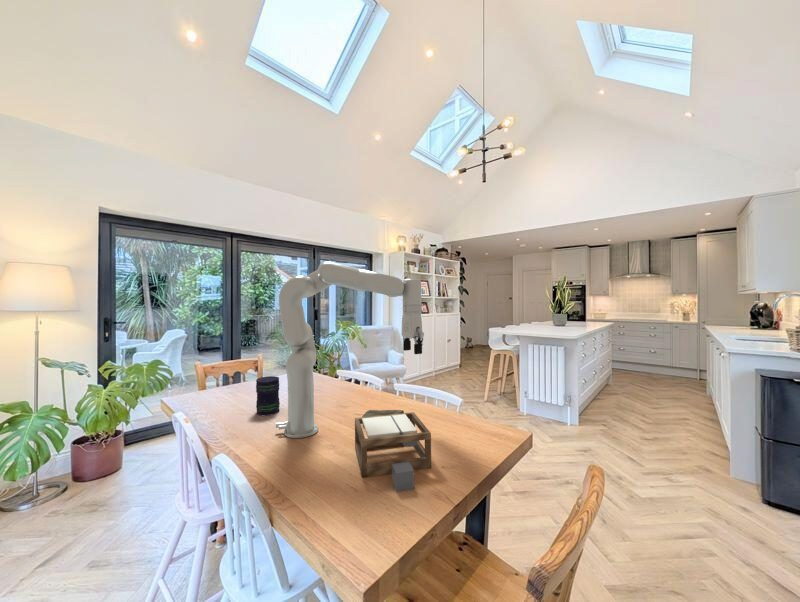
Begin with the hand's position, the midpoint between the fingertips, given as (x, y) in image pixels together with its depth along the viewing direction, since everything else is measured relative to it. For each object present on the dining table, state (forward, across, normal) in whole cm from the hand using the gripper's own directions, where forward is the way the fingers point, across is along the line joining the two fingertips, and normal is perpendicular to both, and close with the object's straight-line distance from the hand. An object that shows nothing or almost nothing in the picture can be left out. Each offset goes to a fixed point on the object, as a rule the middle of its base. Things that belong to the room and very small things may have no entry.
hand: (412, 352), depth 128 cm
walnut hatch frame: (+30, +20, -18) cm, 40 cm away
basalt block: (+30, +35, -21) cm, 51 cm away
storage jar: (+30, -43, -52) cm, 74 cm away
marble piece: (+30, -7, -10) cm, 33 cm away
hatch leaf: (+23, +20, -19) cm, 36 cm away
